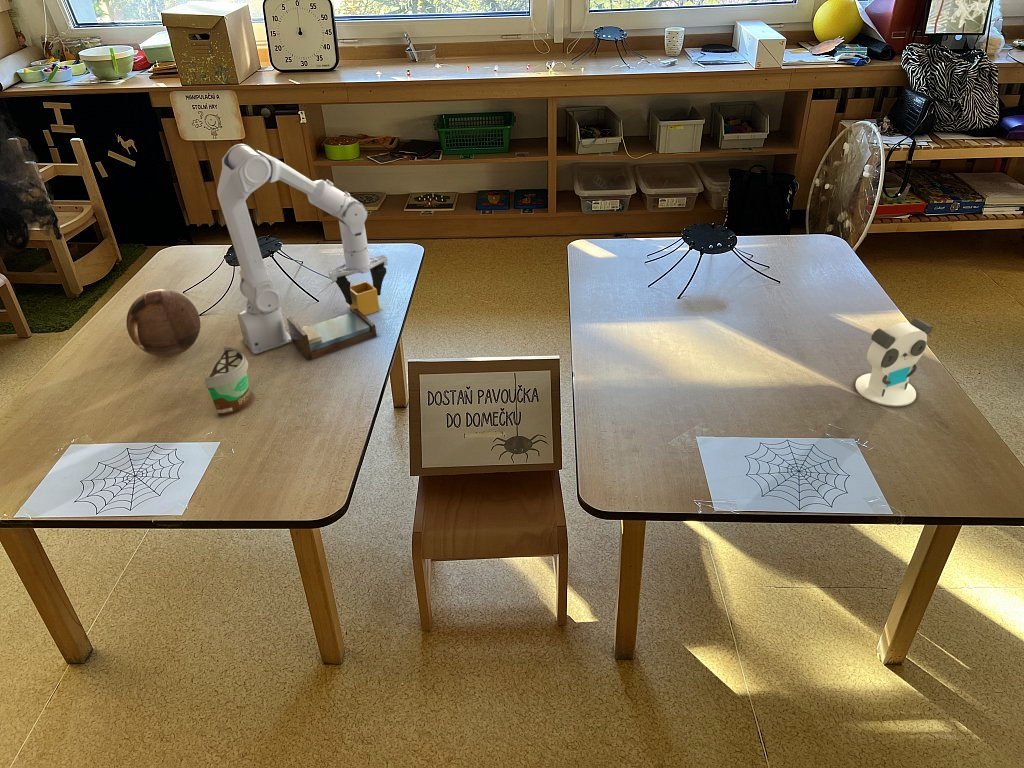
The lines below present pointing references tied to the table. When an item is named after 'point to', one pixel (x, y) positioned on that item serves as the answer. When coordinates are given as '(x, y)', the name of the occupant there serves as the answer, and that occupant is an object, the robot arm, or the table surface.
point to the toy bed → (331, 334)
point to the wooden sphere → (163, 323)
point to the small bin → (364, 298)
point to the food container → (229, 383)
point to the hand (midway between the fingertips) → (363, 298)
